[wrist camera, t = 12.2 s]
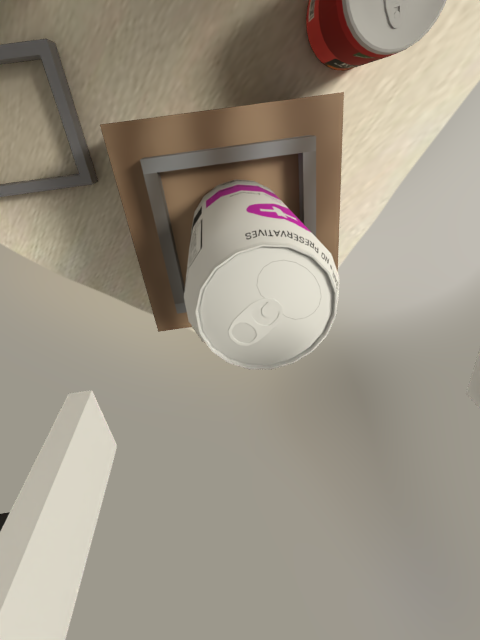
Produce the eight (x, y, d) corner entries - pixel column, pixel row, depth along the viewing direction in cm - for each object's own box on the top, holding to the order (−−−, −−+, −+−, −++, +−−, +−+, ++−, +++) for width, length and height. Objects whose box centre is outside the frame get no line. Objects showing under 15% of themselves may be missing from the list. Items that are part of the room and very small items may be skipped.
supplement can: (238, 154, 27) (271, 188, 14) (305, 227, 30) (381, 308, 17) (172, 230, 29) (147, 319, 16) (240, 289, 33) (265, 401, 20)
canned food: (322, 87, 35) (365, 76, 26) (289, -5, 31) (326, -58, 22) (392, 42, 34) (466, 12, 24) (368, -60, 30) (443, -143, 20)
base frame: (55, 43, 31) (46, 38, 30) (97, 181, 38) (92, 184, 36) (-77, 59, 31) (-93, 56, 30) (-12, 196, 37) (-23, 200, 36)
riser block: (303, 100, 36) (351, 90, 24) (305, 262, 45) (341, 312, 33) (130, 123, 35) (94, 125, 24) (169, 282, 44) (156, 339, 33)
